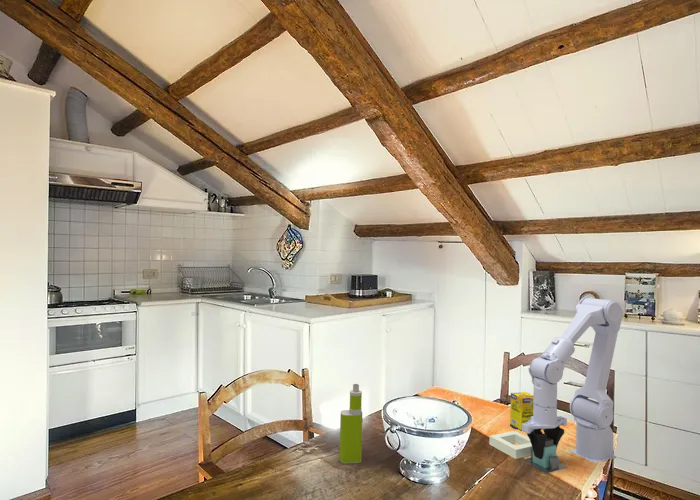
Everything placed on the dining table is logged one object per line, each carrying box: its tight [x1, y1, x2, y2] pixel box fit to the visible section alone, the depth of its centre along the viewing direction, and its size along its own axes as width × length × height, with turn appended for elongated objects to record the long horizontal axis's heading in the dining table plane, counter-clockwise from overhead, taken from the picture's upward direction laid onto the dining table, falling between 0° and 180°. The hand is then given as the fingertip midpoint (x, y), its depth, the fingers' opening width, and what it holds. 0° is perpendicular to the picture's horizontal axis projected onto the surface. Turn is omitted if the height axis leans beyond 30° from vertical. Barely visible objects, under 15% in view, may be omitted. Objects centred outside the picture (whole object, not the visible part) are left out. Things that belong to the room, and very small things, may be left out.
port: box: [488, 430, 532, 460], centre depth 124 cm, size 10×10×3 cm
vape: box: [339, 383, 363, 464], centre depth 116 cm, size 4×6×20 cm, turn 98°
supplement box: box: [509, 391, 534, 432], centre depth 141 cm, size 6×6×11 cm
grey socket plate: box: [521, 447, 569, 474], centre depth 115 cm, size 8×8×4 cm
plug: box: [533, 437, 557, 468], centre depth 115 cm, size 4×4×7 cm
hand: (544, 455), depth 115 cm, fingers closed on plug, 4 cm apart
